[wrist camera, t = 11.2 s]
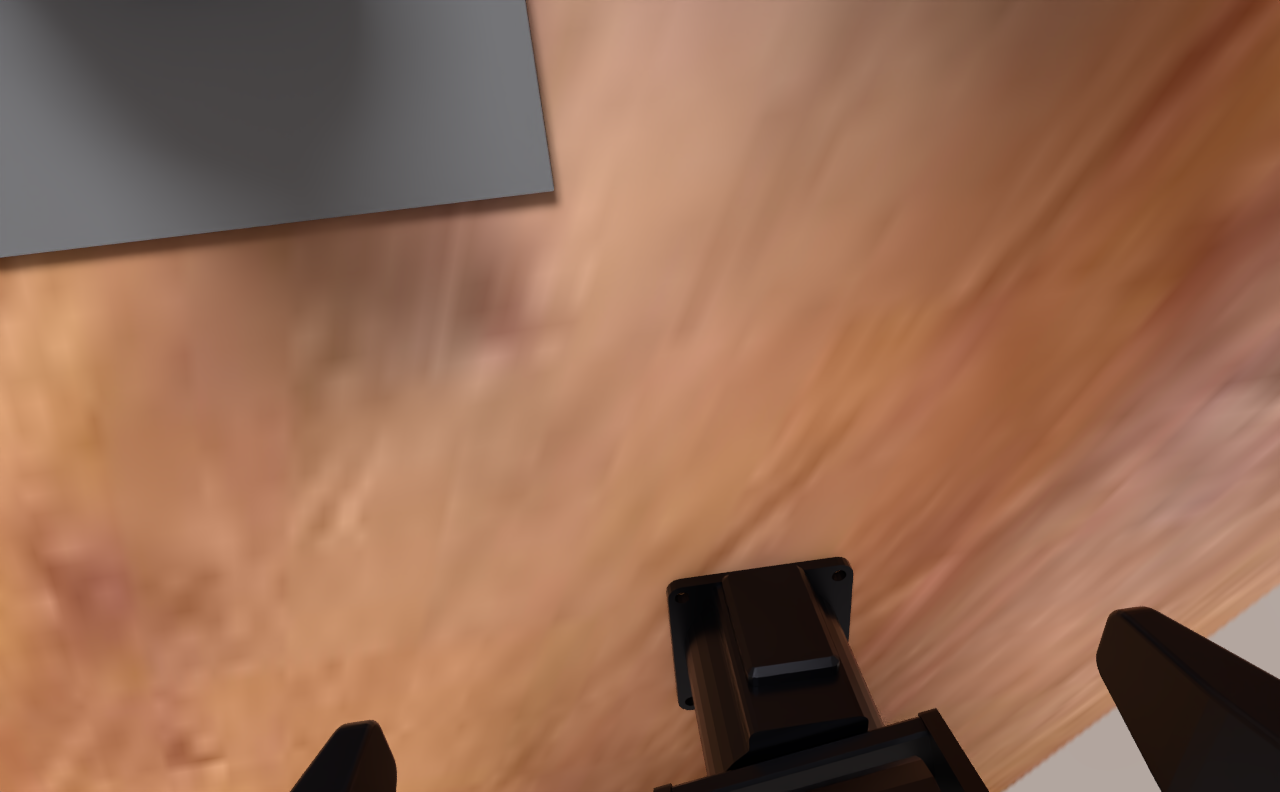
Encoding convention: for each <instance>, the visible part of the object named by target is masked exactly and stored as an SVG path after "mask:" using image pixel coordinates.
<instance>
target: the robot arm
mask: <svg viewBox="0 0 1280 792" xmlns="http://www.w3.org/2000/svg"><path fill="white" fill-rule="evenodd" d="M839 570H840V571H839ZM836 571H839V572H837V573H835V572H836ZM852 585H853V570H852V568H851V566H850V564H849V562H848V561H847V560H846V559H845V558H842V557H833V558H826V559H819V560H812V561H804V562H797V563H790V564H783V565H776V566H769V567H762V568H755V569H748V570H741V571H733V572H726V573H719V574H712V575H705V576H698V577H691V578H684V579H678V580H675V581H673V582H671V583H670V584H669V585H668V587H667V591H666V593H667V602H668V612H669V622H670V631H671V641H672V650H673V660H674V670H675V679H676V689H677V697H678V703H679V706H680V707H681V708H683V709H686V710H694V709H695V712H696V717H697V723H698V728H699V733H700V739H701V744H702V749H703V755H704V760H705V765H706V771H707V777H703V778H700V779H696V780H693V781H689V782H686V783H682V784H679V785H675V786H672V784H671V783H670V784H667V785H663V786H660V787H656V788H654V790H653V792H989V791H988V789H987V787H986V786H985V784H984V783H983V781H982V779H981V778H980V776H979V775H978V773H977V772H976V770H975V768H974V767H973V765H972V764H971V762H970V761H969V759H968V757H967V756H966V754H965V753H964V751H963V750H962V748H961V746H960V745H959V743H958V742H957V740H956V738H955V737H954V735H953V734H952V732H951V731H950V729H949V727H948V726H947V724H946V723H945V721H944V720H943V718H942V716H941V715H940V713H939V712H938V710H937V709H936V708H935V709H931V710H928V711H924V712H921V713H918V717H915V718H912V719H908V720H905V721H901V722H898V723H894V724H891V725H887V726H884V724H883V722H882V720H881V717H880V715H879V713H878V710H877V708H876V706H875V704H874V701H873V699H872V697H871V694H870V692H869V690H868V687H867V685H866V683H865V680H864V678H863V676H862V673H861V671H860V669H859V667H858V664H857V662H856V660H855V657H854V655H853V653H852V650H851V648H850V646H849V643H848V640H849V626H850V613H851V599H852ZM679 593H685V594H682V595H677V594H679ZM1096 662H1097V667H1098V670H1099V673H1100V675H1101V677H1102V679H1103V681H1104V683H1105V685H1106V687H1107V689H1108V691H1109V693H1110V695H1111V697H1112V698H1113V700H1114V702H1115V704H1116V706H1117V708H1118V710H1119V712H1120V714H1121V716H1122V718H1123V720H1124V722H1125V723H1126V725H1127V727H1128V729H1129V731H1130V733H1131V735H1132V737H1133V739H1134V741H1135V743H1136V745H1137V747H1138V748H1139V750H1140V752H1141V754H1142V756H1143V758H1144V760H1145V762H1146V764H1147V765H1148V768H1149V770H1150V772H1151V773H1152V775H1153V777H1154V779H1155V781H1156V782H1157V784H1158V786H1159V788H1160V790H1161V792H1280V679H1278V678H1276V677H1274V676H1273V675H1271V674H1269V673H1267V672H1266V671H1264V670H1262V669H1260V668H1259V667H1257V666H1255V665H1253V664H1251V663H1250V662H1248V661H1246V660H1244V659H1242V658H1241V657H1239V656H1237V655H1235V654H1233V653H1232V652H1230V651H1228V650H1226V649H1224V648H1223V647H1221V646H1219V645H1217V644H1215V643H1214V642H1212V641H1210V640H1208V639H1207V638H1205V637H1203V636H1201V635H1199V634H1198V633H1196V632H1194V631H1192V630H1190V629H1189V628H1187V627H1185V626H1183V625H1181V624H1180V623H1178V622H1176V621H1174V620H1172V619H1171V618H1169V617H1167V616H1165V615H1164V614H1162V613H1160V612H1158V611H1156V610H1154V609H1152V608H1149V607H1132V608H1126V609H1119V610H1115V611H1113V612H1112V613H1111V614H1110V615H1109V617H1108V619H1107V622H1106V625H1105V628H1104V631H1103V634H1102V638H1101V641H1100V644H1099V647H1098V650H1097V654H1096ZM396 785H397V769H396V763H395V760H394V757H393V755H392V752H391V750H390V748H389V745H388V743H387V741H386V738H385V736H384V734H383V732H382V729H381V727H380V725H379V724H378V723H377V722H376V721H374V720H366V721H359V722H353V723H347V724H344V725H342V726H340V727H339V728H338V729H337V730H336V731H335V732H334V733H333V735H332V736H331V737H330V739H329V740H328V741H327V743H326V744H325V745H324V747H323V748H322V749H321V751H320V752H319V753H318V755H317V756H316V757H315V759H314V760H313V761H312V763H311V764H310V765H309V767H308V768H307V769H306V771H305V772H304V773H303V775H302V776H301V778H300V779H299V780H298V782H297V783H296V784H295V786H294V787H293V788H292V790H291V791H290V792H396Z"/></svg>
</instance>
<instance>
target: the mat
mask: <svg viewBox="0 0 1280 792" xmlns="http://www.w3.org/2000/svg"><path fill="white" fill-rule="evenodd" d="M549 191H554V184H553V177H552V170H551V164H550V157H549V151H548V144H547V138H546V131H545V124H544V118H543V111H542V105H541V98H540V92H539V85H538V79H537V72H536V65H535V59H534V52H533V46H532V39H531V33H530V26H529V19H528V13H527V6H526V0H1V1H0V258H1V257H9V256H17V255H26V254H34V253H42V252H51V251H59V250H67V249H76V248H84V247H92V246H101V245H109V244H117V243H125V242H134V241H142V240H150V239H159V238H167V237H175V236H184V235H192V234H200V233H209V232H217V231H225V230H234V229H242V228H250V227H258V226H267V225H275V224H283V223H292V222H300V221H308V220H317V219H325V218H333V217H342V216H350V215H358V214H367V213H375V212H383V211H391V210H400V209H408V208H416V207H425V206H433V205H441V204H450V203H458V202H466V201H475V200H483V199H491V198H500V197H508V196H516V195H524V194H533V193H541V192H549Z"/></svg>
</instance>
